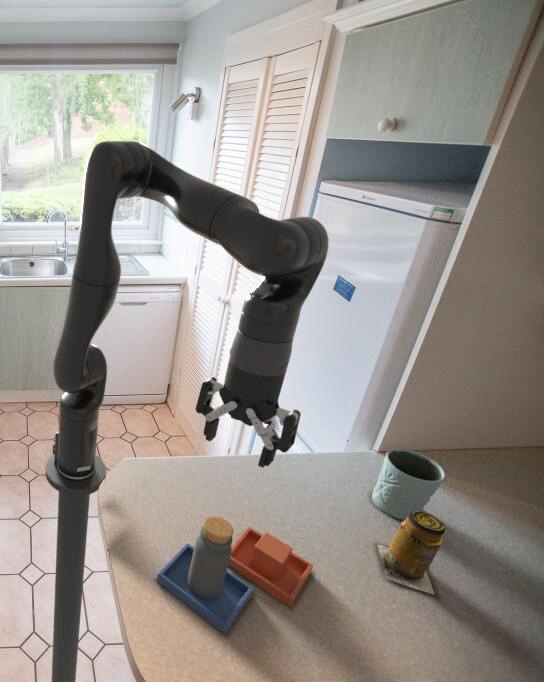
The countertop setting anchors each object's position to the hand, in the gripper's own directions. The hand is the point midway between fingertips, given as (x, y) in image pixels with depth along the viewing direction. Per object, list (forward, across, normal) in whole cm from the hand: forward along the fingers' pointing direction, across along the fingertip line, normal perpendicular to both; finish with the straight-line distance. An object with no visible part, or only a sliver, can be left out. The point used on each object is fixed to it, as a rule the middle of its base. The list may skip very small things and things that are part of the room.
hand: (235, 451), depth 72 cm
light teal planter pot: (+30, -20, -48) cm, 60 cm away
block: (+29, -7, -11) cm, 32 cm away
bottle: (+30, -1, +2) cm, 30 cm away
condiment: (+30, -25, -30) cm, 49 cm away
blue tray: (+30, -1, +2) cm, 30 cm away
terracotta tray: (+30, -7, -11) cm, 33 cm away
